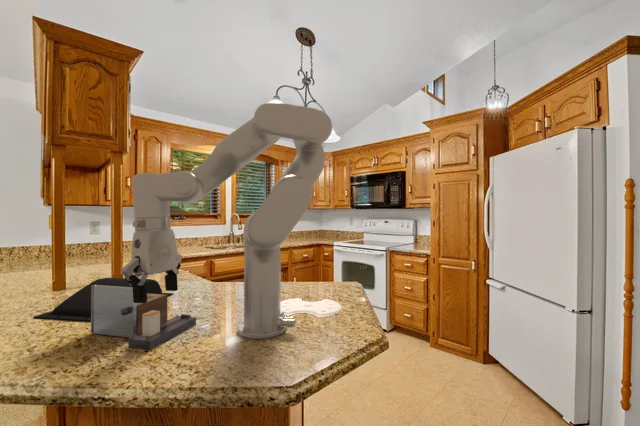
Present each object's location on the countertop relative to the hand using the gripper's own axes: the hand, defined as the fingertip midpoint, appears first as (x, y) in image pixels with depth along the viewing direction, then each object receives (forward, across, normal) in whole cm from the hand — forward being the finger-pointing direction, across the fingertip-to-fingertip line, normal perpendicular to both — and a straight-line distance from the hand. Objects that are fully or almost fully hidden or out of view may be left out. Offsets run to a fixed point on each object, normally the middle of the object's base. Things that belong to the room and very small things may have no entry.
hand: (157, 296), depth 71 cm
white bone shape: (+14, +34, -28) cm, 46 cm away
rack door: (+10, -1, +14) cm, 17 cm away
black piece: (+11, +21, +38) cm, 44 cm away
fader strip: (+11, +4, +2) cm, 12 cm away
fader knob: (+9, -1, +1) cm, 9 cm away
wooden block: (+10, +6, +14) cm, 18 cm away
